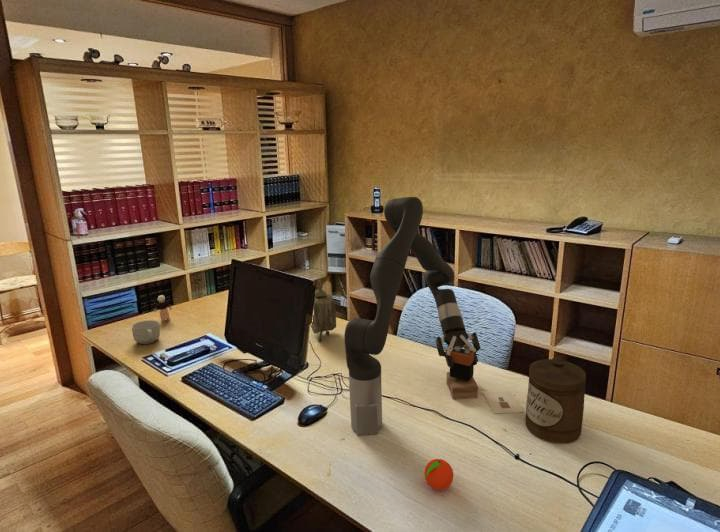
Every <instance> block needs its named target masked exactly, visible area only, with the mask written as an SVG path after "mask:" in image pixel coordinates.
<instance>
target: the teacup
mask: <svg viewBox="0 0 720 532" xmlns="http://www.w3.org/2000/svg"><path fill="white" fill-rule="evenodd" d="M130 327H131V331H132V338H133V340H134V341H135V342H136V343H139V344H141V345H149V344H154V342H156V341H157V340H158V339H159V338H160V335H161V332H160V331H161V329H160V322H159V321H158V320H154V319H149V320H142V321H137V322H135V323H133V324H132V325H131V326H130Z"/></svg>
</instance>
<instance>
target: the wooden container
mask: <svg viewBox="0 0 720 532" xmlns="http://www.w3.org/2000/svg"><path fill="white" fill-rule="evenodd" d="M586 380H587V374H586V371H585V370H584V369H583V368H582V367H581V366H579V365H577V364H574V363H572V362H570V361H565V359H563V358H562V357H561V356H555V357H552V358H547V359H539V360H535V361H533V362H532V363H531V364H530V365H529V369H528V387H527V393H526V394H527V395H526V406H525V426H526V428H527V430H528V431H529V432H530V434H532V435H533V436H534V437H536V438H537V439H541V440H542V441H545V442H549V443H552V444H563V445H565V444H570V443H574V442H577V440H579V439H580V437H581V435H582V429H583V428H582V427H583V420H584V410H585V409H584V408H585V394H586V382H587V381H586Z"/></svg>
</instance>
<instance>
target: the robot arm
mask: <svg viewBox="0 0 720 532" xmlns="http://www.w3.org/2000/svg"><path fill="white" fill-rule="evenodd" d="M383 213H384V219H385V221H386V222H387V224H388V225H389V227H390V228H391V229H392V230H393V232H395V234H394V235H393V237H392V238H391V239H390V240H389V241H387V243H386V244H384V246H383V247H382V248H381V249H380V251H379V252H378V253H377V255H376V256H375V258H374V262H373V265H372V267H371V272H370V276H369V280H370V285H371V288H372V291H373V293H374V298H375V301H376V308H377V309H376V315H375V318H374V320H373V319H372V320H371V319H365V318H359V317H353V318H350V319H349V320H348V322H347V324H346V326H345V329H344V349H345V357H346V358H345V359H346V360H345V361H346V367H347V369H348V382H349V383H348V385H349V387H348V388H349V389H348V390H349V407H350V425H351V426H350V427H351V430H352V431H354V432H355V433H356V436H360V435H361V436H367V435H368V436H369V435H378V434H379V432H380V430H381V429H382V427H383V400H382V399H383V398H382V396H383V394H382V364H381V362H380V361H379V360H378V359H377V358H376V357H373V356H378V355H379V354H381V353H382V351H383V350H384V348H385V345H386V342H387V337H388V333H389V330H390V325H391V324H390V323H391V319H392V315H393V308H394V305H395V301H396V298H397V294H398V292H399V291H398V290H399V288H400V285H401V282H402V280H403V276H404V273H405V268H406V265H407V260H408V257H409V255H410V252H411V251H412V253H413V254H414V257H415V259H417V261H418V263H419V264H420V266H421V267H422V269H423V270H425V272H424V274H423V280H424V283H425V284H426V285H427V287H428V288H429V291H430V292H431V294H432V296H433V298H434V301H435V306H436V309H437V315H438V321H439V323H440V328H441V330H442V334H443V336H441V337H440V336H437V337H436V339H435V344H436V345H435V346H436V348H437V354H438V356H439V357H444V358H445V363H446V365H447V367H449V369H450V368H453V367H454V365H453V361H452V357H451V355H450V352H451V351H452V350H453V349H454V347H455V346H459V347H461V348H462V349H468V350H471V351H474V366H476V365H477V364H478V362H479V359H478V355H477V352H479V351H480V350H481V345H480V341H479V338H478V335H477V333H476V332H473V333H468V332H467V331H466V326H465V323H464V318H463V316H462V312H461V310H460V308H459V305H458V302H457V299H456V298H457V297H456V295H455V291H454V290H453V289H451V288H440V287H443V286H446V285H448V284H451V283H453V282H454V280H455V278H456V277H455V276H456V275H455V271H454V270H453V268H452V267H451V265H450V264H449V263H448V262H446V261H445V260H444V259H443V258H442V257H441V256H440V255H439V253H438V251H437V249H436V248H435V246H434V244H433V243H432V242H431V241H430V240H429V239H427V238H426V237H425V236H424V235H422V234H420V233H419V232H418V230H419V227H420V225H421V222H422V219H423V214H424V206H423V203H422V200H421V199H420V198H418V197H416V196H408V197H407V196H405V197H397V198H392V199H390V200H388V201H387V202H386V203H385V204H384V209H383ZM469 340H470V341H471V342H470V341H469ZM444 343H445V344H446V345H447V346H446V350H445V349H444V345H443V344H444Z"/></svg>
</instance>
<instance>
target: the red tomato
mask: <svg viewBox="0 0 720 532" xmlns="http://www.w3.org/2000/svg"><path fill="white" fill-rule="evenodd" d="M423 474H424V479H425V481H426V483H427V485H428V486H429V487H430V488H431V489H434V490H436V491H443V490H446V489H448V488H449V487H450V486H451V485H452V483H453V480H454V470H453V468H452V466H451V464H450V463H448V462H447V461H446V460H445V459H442V458H435V459H434V458H433V459H432V460H429V462H428V463H427V464H426V466H425V468H424V473H423Z"/></svg>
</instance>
